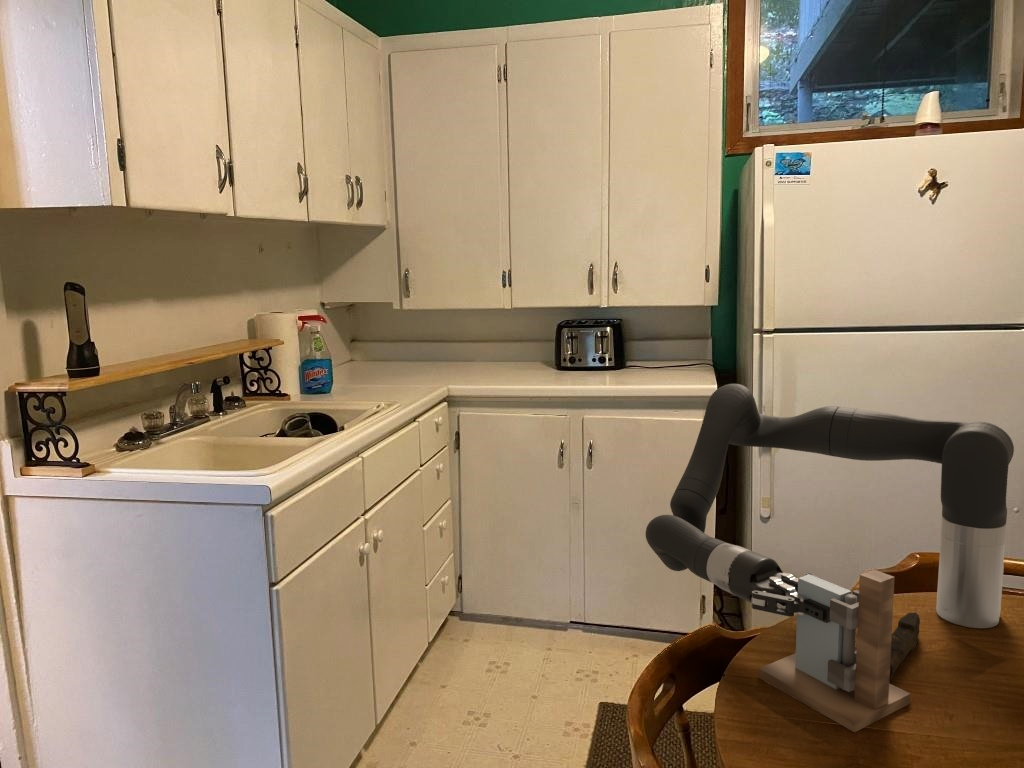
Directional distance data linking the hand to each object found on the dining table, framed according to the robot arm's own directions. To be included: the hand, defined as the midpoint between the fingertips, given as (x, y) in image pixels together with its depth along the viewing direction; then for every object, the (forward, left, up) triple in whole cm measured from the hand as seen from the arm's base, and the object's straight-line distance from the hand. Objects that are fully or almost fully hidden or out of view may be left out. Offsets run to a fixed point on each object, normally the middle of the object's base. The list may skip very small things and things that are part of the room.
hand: (836, 613), depth 108 cm
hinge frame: (0, -1, -12) cm, 12 cm away
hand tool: (-17, -2, -13) cm, 21 cm away
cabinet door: (0, -2, -11) cm, 11 cm away
